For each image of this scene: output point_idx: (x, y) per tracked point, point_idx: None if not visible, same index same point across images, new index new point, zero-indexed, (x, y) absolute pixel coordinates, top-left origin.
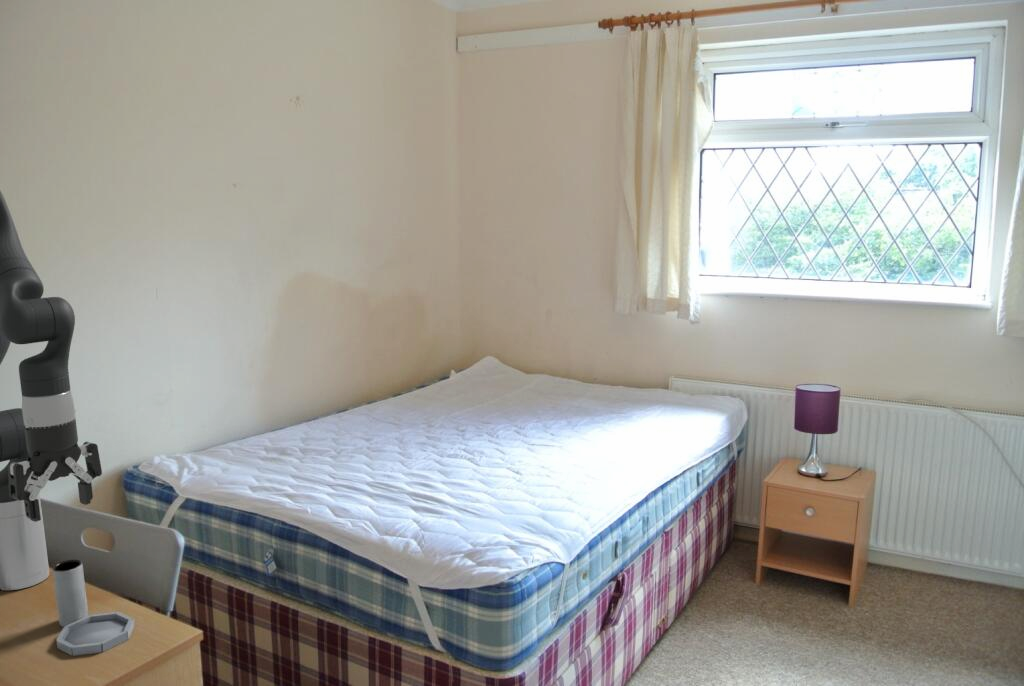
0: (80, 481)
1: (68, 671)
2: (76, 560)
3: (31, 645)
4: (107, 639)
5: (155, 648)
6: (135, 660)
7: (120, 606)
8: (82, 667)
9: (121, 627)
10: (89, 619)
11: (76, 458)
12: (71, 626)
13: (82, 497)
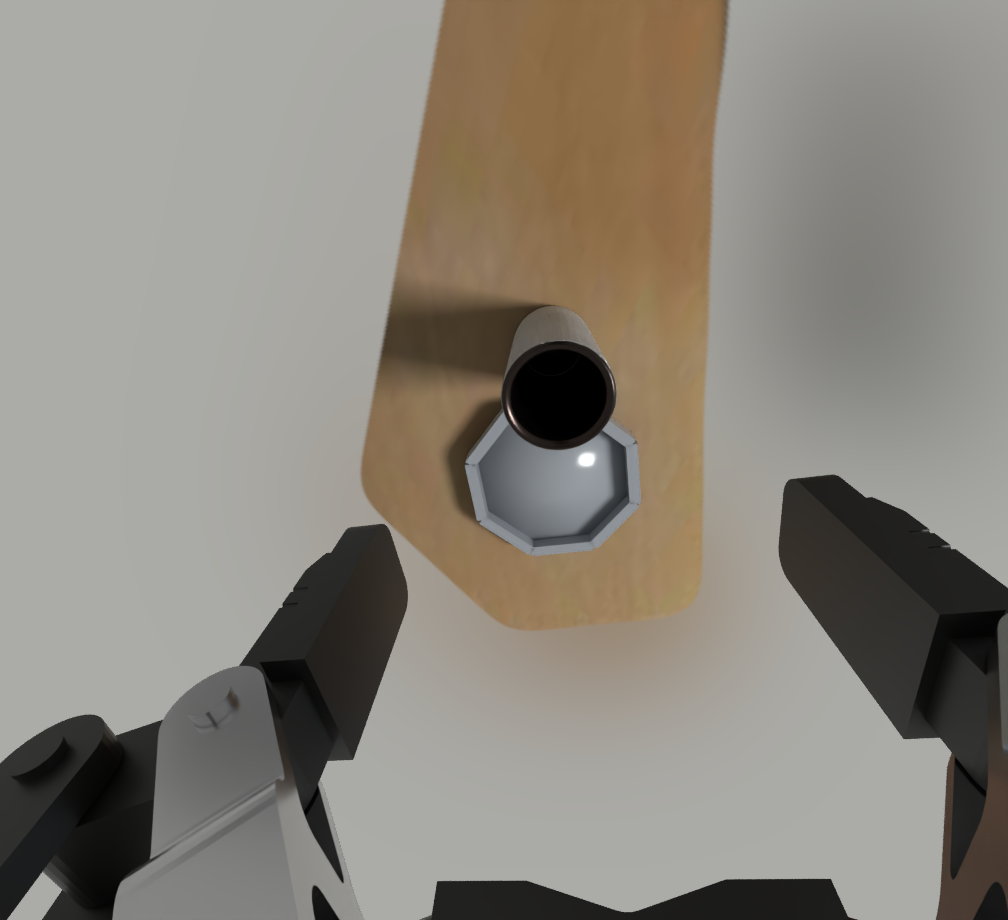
0: (964, 668)
1: (453, 558)
2: (606, 377)
3: (426, 392)
4: (549, 547)
5: (610, 604)
6: (561, 613)
7: (678, 362)
8: (478, 564)
9: (607, 494)
10: None
11: None
12: None
13: (813, 554)
